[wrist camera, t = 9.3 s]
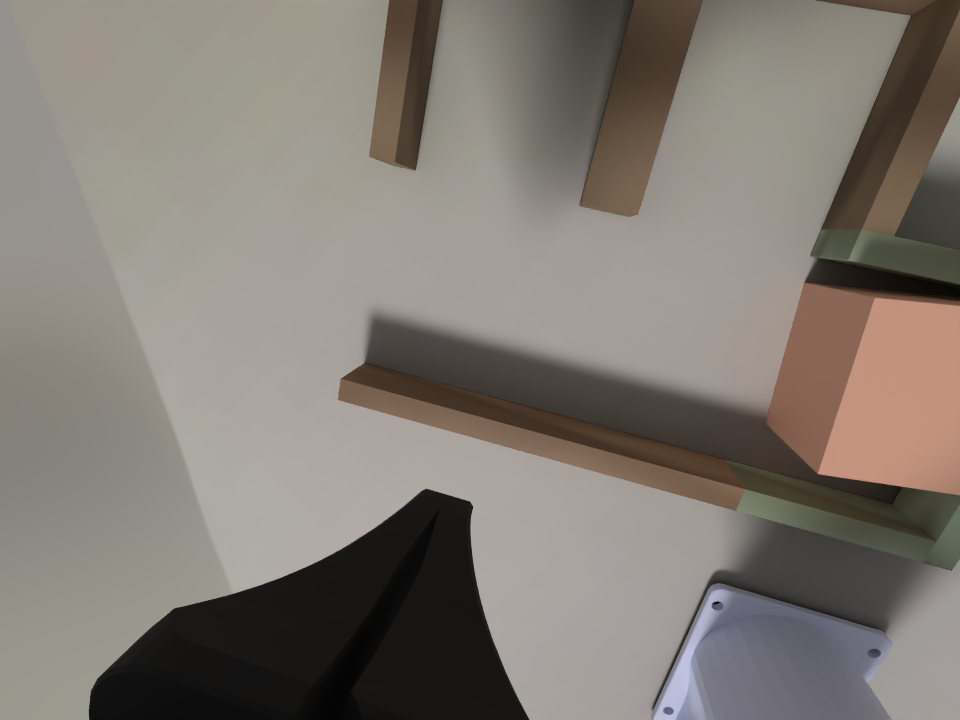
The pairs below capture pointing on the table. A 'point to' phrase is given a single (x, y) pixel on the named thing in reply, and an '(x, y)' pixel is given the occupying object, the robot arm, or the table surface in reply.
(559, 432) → the frame
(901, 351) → the terracotta block
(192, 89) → the table surface
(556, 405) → the table surface
